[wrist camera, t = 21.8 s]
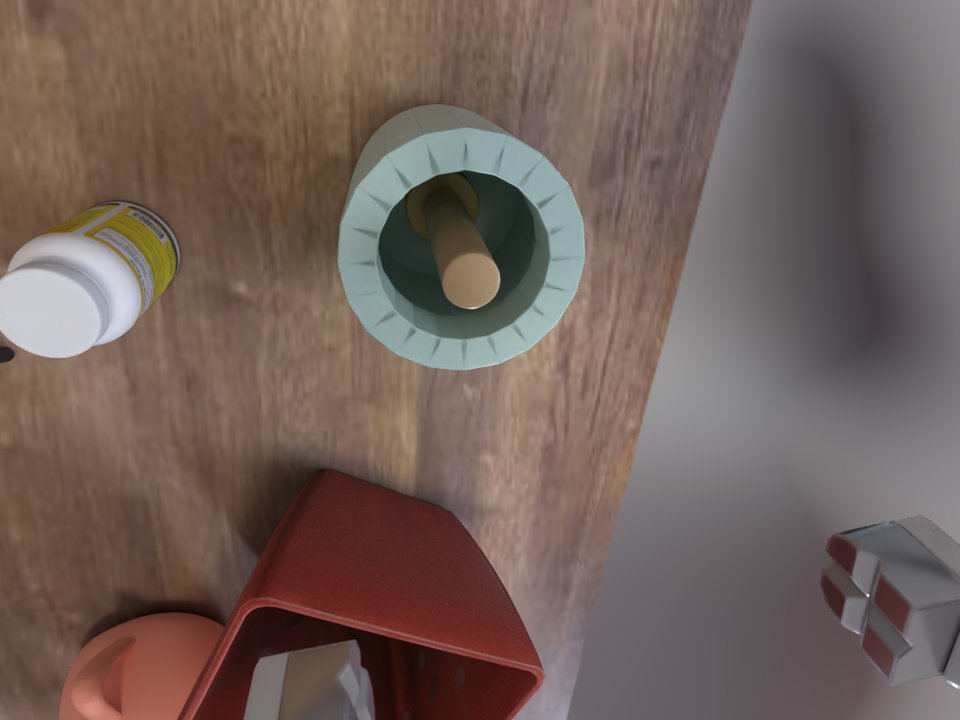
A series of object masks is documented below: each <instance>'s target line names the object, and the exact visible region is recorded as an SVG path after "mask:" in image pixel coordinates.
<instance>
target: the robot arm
mask: <svg viewBox="0 0 960 720" xmlns="http://www.w3.org/2000/svg"><path fill="white" fill-rule="evenodd" d="M826 551H827V552H828V553H829V554H830V556H831V557H832V559H831V560H830V561H829V562H828V563H827V564H826V565H825V567H824V568H823V569H822V574H821V581H820V584H821V588H822V592H823V595H824V599H825V601H826V603H827V605H828V606H829V608H830V610H831V612H832V613H833V615H834V616H835V617H836V618H837V620H838V621H839V622H840V624H841V625H842V626H845V627H846V628H848V629H850V630H852V631H854V632H856V633H858V634H859V635H860V644H861V650H862V651H863V652H864V653H865V655H866V656H867V657H868V658H869V659H870V661H871V662H872V663H873V664H874V666H875V667H876V668H877V669H878V671H879V672H880V673H881V674H882V675H883V677H884V678H885V679H886V680H887V682H888V683H889V684H890V685H891V686H893V685H897V684H902V683H907V682H912V681H917V680H922V679H927V678H931V677H937V676H942V675H943V677H942V679H944V680H945V681H947V682H948V683H950V684H952V685H953V686H955V687H956V688H958V689H960V545H959V544H958V543H957V542H956V541H954V540H953V539H952V538H951V537H950V536H949V535H947V534H946V533H945V532H944V531H942V530H941V529H940V528H939V527H938V526H937V525H935V524H934V523H933V522H932V521H931V520H929V519H927V518H925V517H922V516H920V515H918V516H913V517H908V518H903V519H900V520H895V521H890V522H882V523H878V524H874V525H869V526H865V527H861V528H857V529H852V530H849V531H844V532H840V533H835V534H833V535H832V536H831V537H830V538H829V539H828V543H827V547H826ZM244 720H375V705H374V694H373V689H372V684H371V679H370V677H369V674H368V671H367V669H365V668H363V667H361V651H360V649H359V646H358V644H357V641H356V639H355V640H349V641H344V642H338V643H333V644H328V645H323V646H317V647H312V648H307V649H301V650H296V651H291V652H286V653H281V654H277V655H272V656H267V657H262V658H260V659H259V661H258V663H257V665H256V667H255V669H254V673H253V678H252V682H251V687H250V692H249V696H248V701H247V706H246V711H245V715H244Z"/></svg>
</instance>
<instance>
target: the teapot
mask: <svg viewBox="0 0 960 720" xmlns="http://www.w3.org/2000/svg"><path fill="white" fill-rule="evenodd" d="M224 628H225V627H224V626H222V625H221V624H219V623H217V622H215V621H213V620H211V619H208V618H205V617H202V616H199V615H194V614H189V613H159V614H152V615H147V616H143V617H139V618H135V619H133V620H130V621H127V622H125V623H122V624H120V625H117V626H115V627H113V628H111V629H109V630H107V631H105V632H103V633H102V634H100V635H98V636H97V637H95V638H94V639H92V640H91V641H90V642H89V643H88V644H87V645H86V646H84V647H83V648H82V649H81V650H80V652H79V653H78V654H77V656H76V657H75V659H74V661H73V663H72V665H71V667H70V670H69V672H68V674H67V677H66V680H65V684H64V688H63V692H62V697H61V702H60V711H59V720H177V719H178V717H179V715H180V713H181V711H182V709H183V707H184V705H185V703H186V701H187V699H188V697H189V695H190V693H191V691H192V689H193V687H194V685H195V683H196V681H197V679H198V677H199V675H200V674H201V672H202V670H203V668H204V666H205V664H206V663H207V661H208V659H209V657H210V655H211V653H212V651H213V649H214V647H215V645H216V643H217V642H218V640H219V638H220V636H221V634H222V632H223V630H224Z"/></svg>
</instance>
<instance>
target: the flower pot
mask: <svg viewBox="0 0 960 720" xmlns="http://www.w3.org/2000/svg"><path fill="white" fill-rule="evenodd" d="M355 639H356V641H357V644H358V646H359V649H360V651H361V667H363V668H365V669H367V671H368V674H369V677H370V679H371V684H372V689H373V694H374V705H375V720H512V719H513V718H514V717H515V716H516V714H517V713H518V712H519V711H520V710H521V709H522V707H523V706H524V705H525V704H526V703H527V702H528V700H529V699H530V698H531V697H532V696H533V695H534V693H535V692H536V691H537V690H538V689H539V687H540V686H541V685H542V684H543V682H544V680H545V673H544V670H543V668H542V665H541V662H540V660H539V657H538V655H537V652H536V650H535V648H534V646H533V643H532V641H531V639H530V637H529V635H528V633H527V630H526V628H525V626H524V624H523V622H522V620H521V618H520V616H519V614H518V612H517V610H516V608H515V606H514V604H513V602H512V600H511V598H510V596H509V594H508V592H507V591H506V589H505V587H504V585H503V584H502V582H501V580H500V578H499V577H498V575H497V573H496V572H495V570H494V569H493V567H492V565H491V564H490V562H489V561H488V559H487V558H486V556H485V555H484V553H483V552H482V550H481V549H480V547H479V546H478V545H477V543H476V542H475V540H474V539H473V538H472V536H471V535H470V534H469V532H468V531H467V530H466V529H465V527H464V526H463V525H462V524H461V522H460V521H459V520H458V519H457V518H456V517H455V515H454V514H453V513H452V512H451V511H449V510H446V509H443V508H440V507H437V506H435V505H432V504H429V503H426V502H423V501H420V500H418V499H415V498H412V497H409V496H406V495H403V494H400V493H397V492H394V491H392V490H389V489H386V488H383V487H380V486H377V485H374V484H371V483H368V482H365V481H362V480H360V479H357V478H354V477H351V476H348V475H345V474H342V473H339V472H337V471H334V470H330V469H323V470H319V471H318V472H316V473H315V474H314V475H313V476H312V477H311V478H310V479H309V480H308V482H307V483H306V484H305V485H304V487H303V488H302V489H301V490H300V492H299V493H298V494H297V496H296V497H295V499H294V500H293V501H292V503H291V504H290V506H289V507H288V509H287V511H286V512H285V514H284V516H283V517H282V519H281V521H280V522H279V524H278V526H277V527H276V529H275V531H274V533H273V535H272V537H271V539H270V540H269V542H268V544H267V546H266V548H265V550H264V552H263V554H262V556H261V558H260V560H259V562H258V563H257V565H256V567H255V569H254V571H253V573H252V575H251V577H250V579H249V581H248V583H247V585H246V587H245V589H244V591H243V593H242V595H241V597H240V599H239V601H238V602H237V604H236V606H235V608H234V610H233V612H232V614H231V616H230V618H229V620H228V622H227V624H226V626H225V628H224V630H223V632H222V634H221V636H220V638H219V640H218V642H217V643H216V645H215V647H214V649H213V651H212V653H211V655H210V657H209V659H208V661H207V663H206V664H205V666H204V668H203V670H202V672H201V674H200V675H199V677H198V679H197V681H196V683H195V685H194V687H193V689H192V691H191V693H190V695H189V697H188V699H187V701H186V703H185V705H184V707H183V709H182V711H181V713H180V715H179V717H178V719H177V720H244V715H245V711H246V706H247V701H248V696H249V692H250V687H251V682H252V678H253V673H254V669H255V667H256V665H257V663H258V661H259V659H260V658H262V657H267V656H272V655H277V654H281V653H286V652H291V651H296V650H301V649H307V648H312V647H317V646H323V645H328V644H333V643H338V642H344V641H349V640H355Z"/></svg>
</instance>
